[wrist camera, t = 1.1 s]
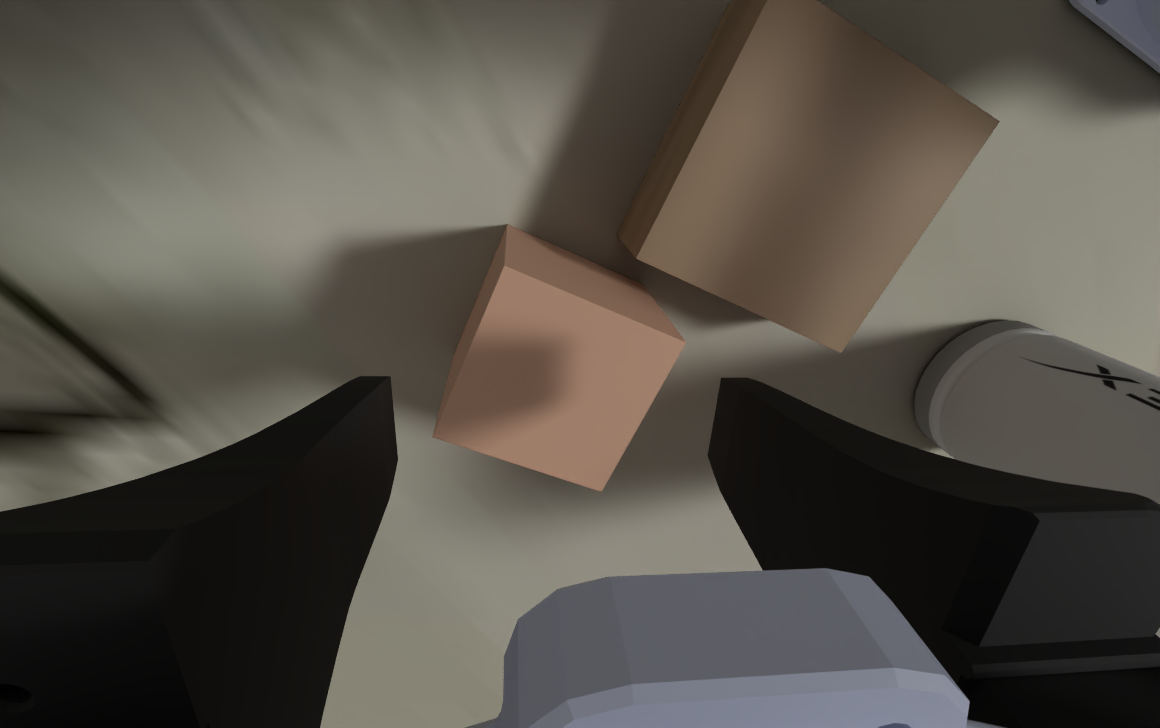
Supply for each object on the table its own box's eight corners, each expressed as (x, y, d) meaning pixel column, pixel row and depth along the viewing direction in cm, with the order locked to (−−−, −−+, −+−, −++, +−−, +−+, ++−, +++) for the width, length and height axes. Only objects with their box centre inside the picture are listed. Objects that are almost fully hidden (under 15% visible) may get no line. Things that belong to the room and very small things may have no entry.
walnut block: (911, 120, 20) (999, 121, 16) (789, 314, 23) (841, 353, 19) (726, 3, 18) (779, -25, 14) (614, 233, 20) (636, 258, 17)
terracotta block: (642, 283, 21) (686, 342, 16) (580, 402, 23) (601, 492, 17) (507, 223, 20) (504, 265, 14) (453, 355, 21) (432, 436, 16)
